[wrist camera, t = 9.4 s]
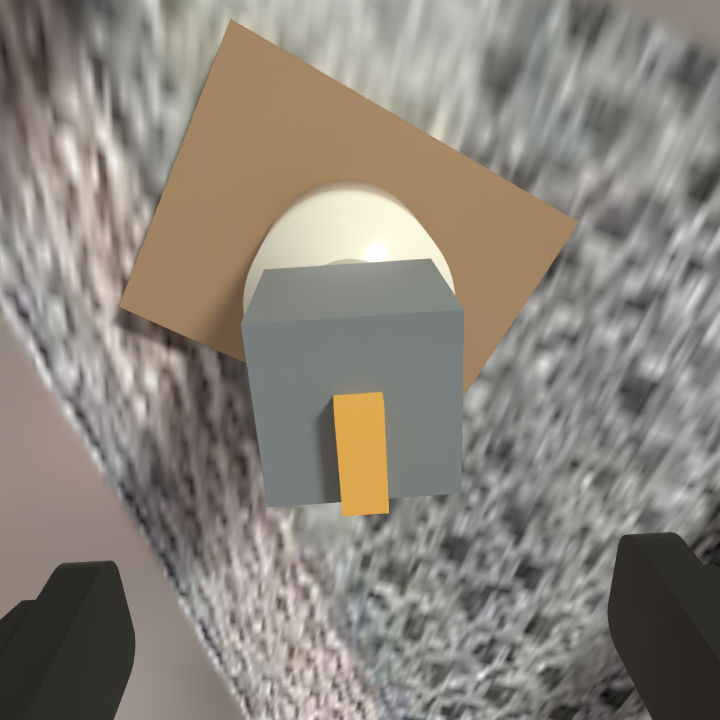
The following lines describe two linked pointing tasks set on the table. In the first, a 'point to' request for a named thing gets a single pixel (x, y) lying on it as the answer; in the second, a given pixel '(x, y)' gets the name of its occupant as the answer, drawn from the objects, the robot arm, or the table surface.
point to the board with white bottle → (327, 204)
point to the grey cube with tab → (356, 383)
